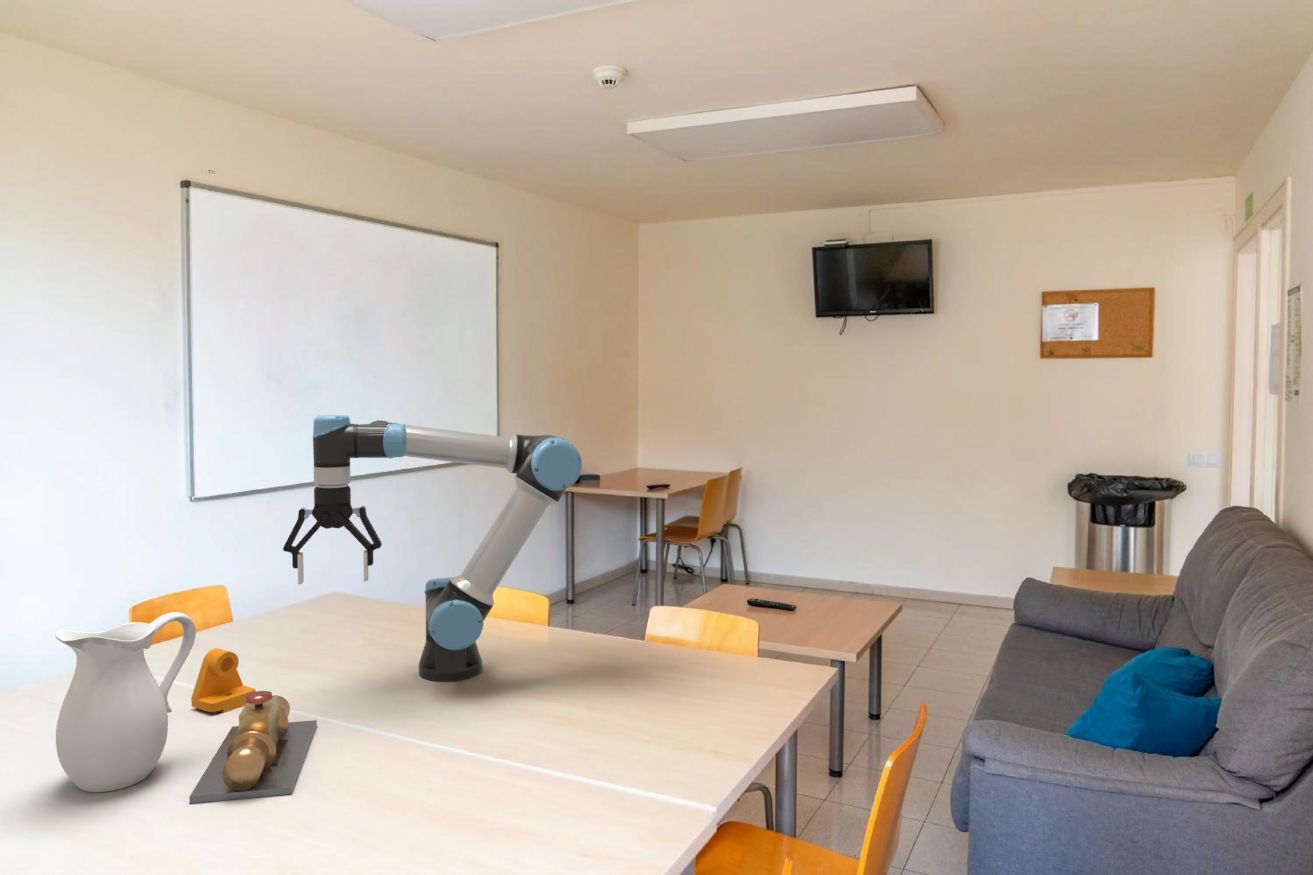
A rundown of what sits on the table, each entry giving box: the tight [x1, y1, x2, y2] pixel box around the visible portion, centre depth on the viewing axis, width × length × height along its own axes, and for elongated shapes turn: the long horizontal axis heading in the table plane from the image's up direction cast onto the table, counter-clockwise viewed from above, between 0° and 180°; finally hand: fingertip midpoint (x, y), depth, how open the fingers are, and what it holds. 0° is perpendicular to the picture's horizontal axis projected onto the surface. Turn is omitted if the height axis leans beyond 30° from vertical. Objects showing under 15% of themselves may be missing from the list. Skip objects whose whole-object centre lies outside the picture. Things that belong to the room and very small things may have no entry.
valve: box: [238, 690, 279, 747], centre depth 165 cm, size 5×9×11 cm, turn 13°
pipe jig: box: [188, 694, 318, 804], centre depth 166 cm, size 31×16×8 cm, turn 13°
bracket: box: [191, 648, 256, 714], centre depth 193 cm, size 11×7×12 cm, turn 149°
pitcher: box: [55, 611, 197, 793], centre depth 160 cm, size 24×17×28 cm
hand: (333, 581), depth 196 cm, fingers open, 13 cm apart
